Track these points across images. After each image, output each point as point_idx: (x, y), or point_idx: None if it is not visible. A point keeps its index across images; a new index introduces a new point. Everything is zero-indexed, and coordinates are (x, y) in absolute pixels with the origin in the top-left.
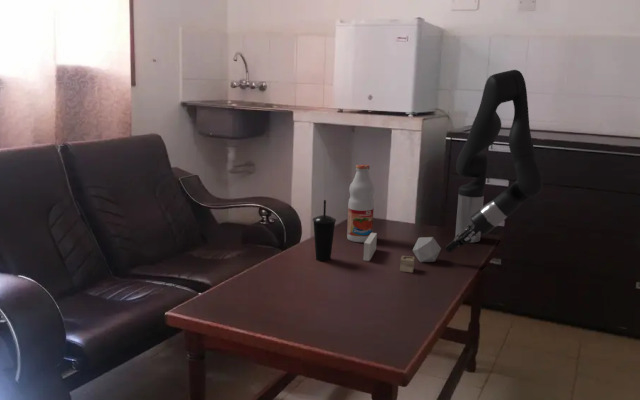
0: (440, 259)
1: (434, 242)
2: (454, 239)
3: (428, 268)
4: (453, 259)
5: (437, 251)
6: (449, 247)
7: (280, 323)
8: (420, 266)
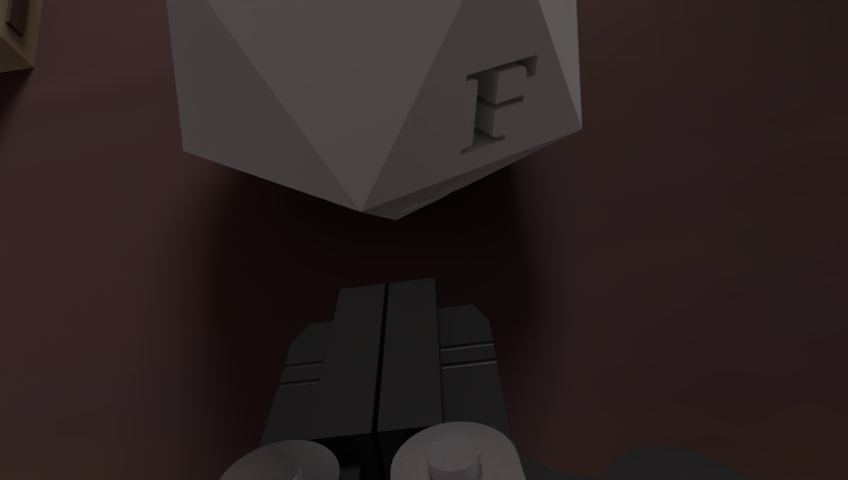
0: (538, 272)
1: (304, 24)
2: (403, 446)
3: (82, 206)
4: None
5: (281, 182)
6: (293, 369)
7: None
8: (135, 110)
